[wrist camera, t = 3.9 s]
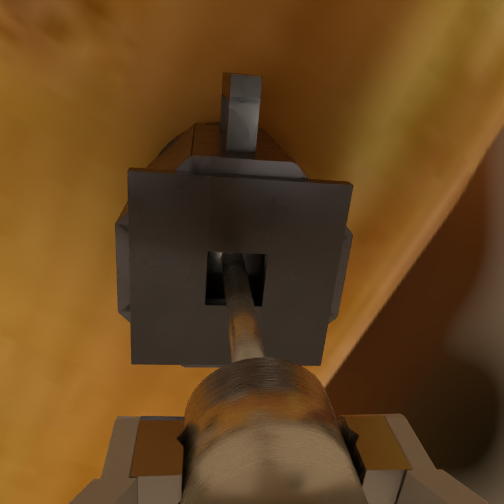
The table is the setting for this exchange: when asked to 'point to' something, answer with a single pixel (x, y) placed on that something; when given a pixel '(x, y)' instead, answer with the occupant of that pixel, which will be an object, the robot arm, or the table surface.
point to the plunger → (260, 415)
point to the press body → (229, 241)
